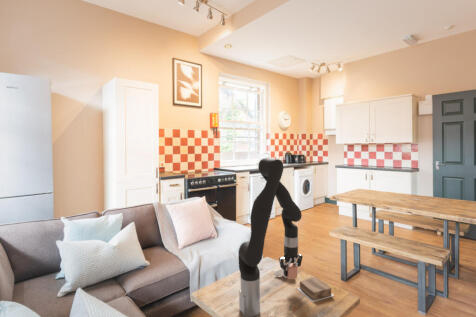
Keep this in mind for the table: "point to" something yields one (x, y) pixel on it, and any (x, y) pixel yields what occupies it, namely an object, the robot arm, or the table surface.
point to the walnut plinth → (315, 288)
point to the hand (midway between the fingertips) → (290, 274)
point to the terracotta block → (292, 271)
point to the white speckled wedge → (279, 272)
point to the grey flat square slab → (311, 298)
